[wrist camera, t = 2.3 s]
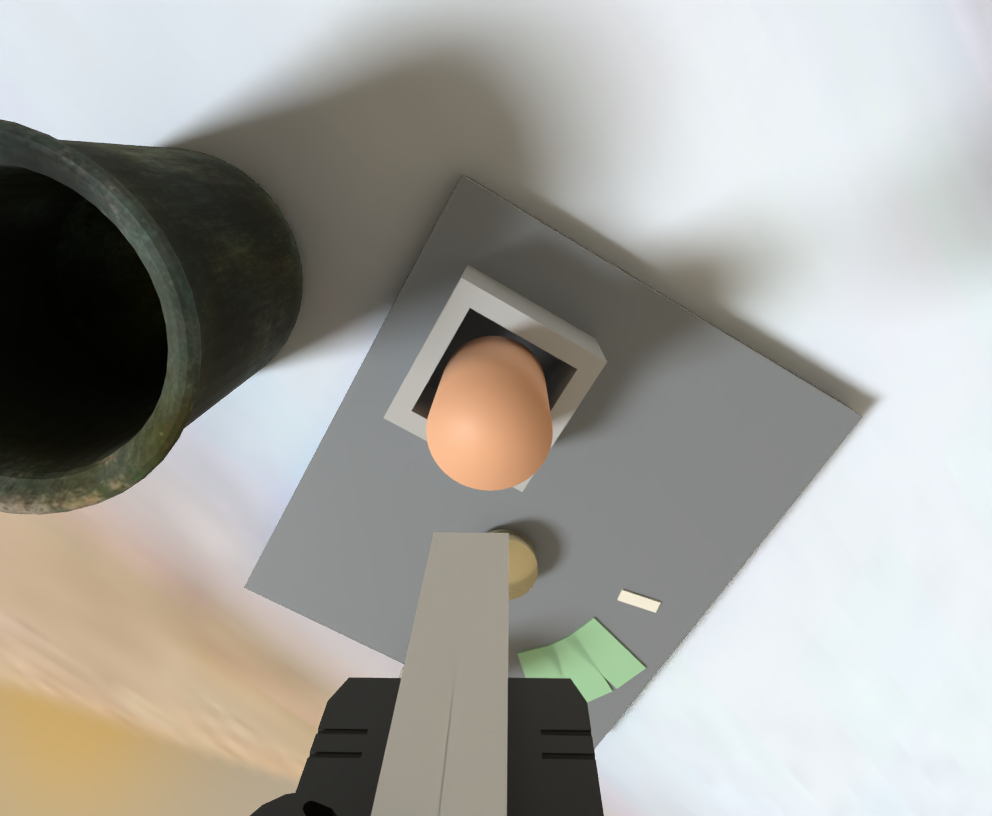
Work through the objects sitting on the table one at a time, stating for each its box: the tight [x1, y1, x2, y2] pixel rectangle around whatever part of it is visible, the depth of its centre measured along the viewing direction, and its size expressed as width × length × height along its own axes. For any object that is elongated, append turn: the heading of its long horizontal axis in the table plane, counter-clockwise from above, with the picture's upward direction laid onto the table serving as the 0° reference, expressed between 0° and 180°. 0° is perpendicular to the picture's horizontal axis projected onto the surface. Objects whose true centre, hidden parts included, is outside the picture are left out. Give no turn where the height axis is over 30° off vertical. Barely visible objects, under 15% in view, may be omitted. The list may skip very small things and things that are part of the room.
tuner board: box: [244, 175, 862, 749], centre depth 30 cm, size 22×20×5 cm
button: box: [426, 336, 553, 491], centre depth 24 cm, size 4×4×5 cm
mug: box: [0, 119, 302, 515], centre depth 24 cm, size 11×15×12 cm
